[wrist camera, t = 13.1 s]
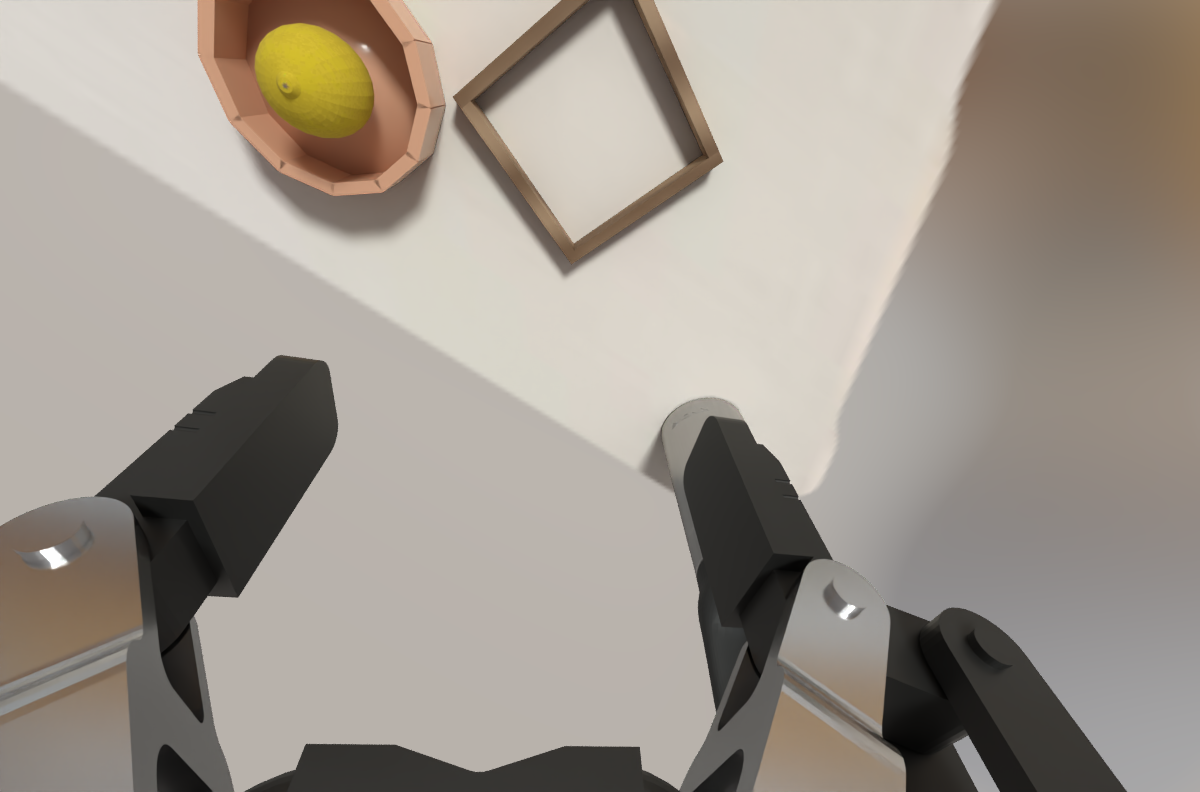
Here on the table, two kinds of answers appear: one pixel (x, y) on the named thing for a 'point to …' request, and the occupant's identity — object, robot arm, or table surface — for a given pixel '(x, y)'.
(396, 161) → the bowl
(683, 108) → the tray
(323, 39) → the lemon
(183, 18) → the table surface
